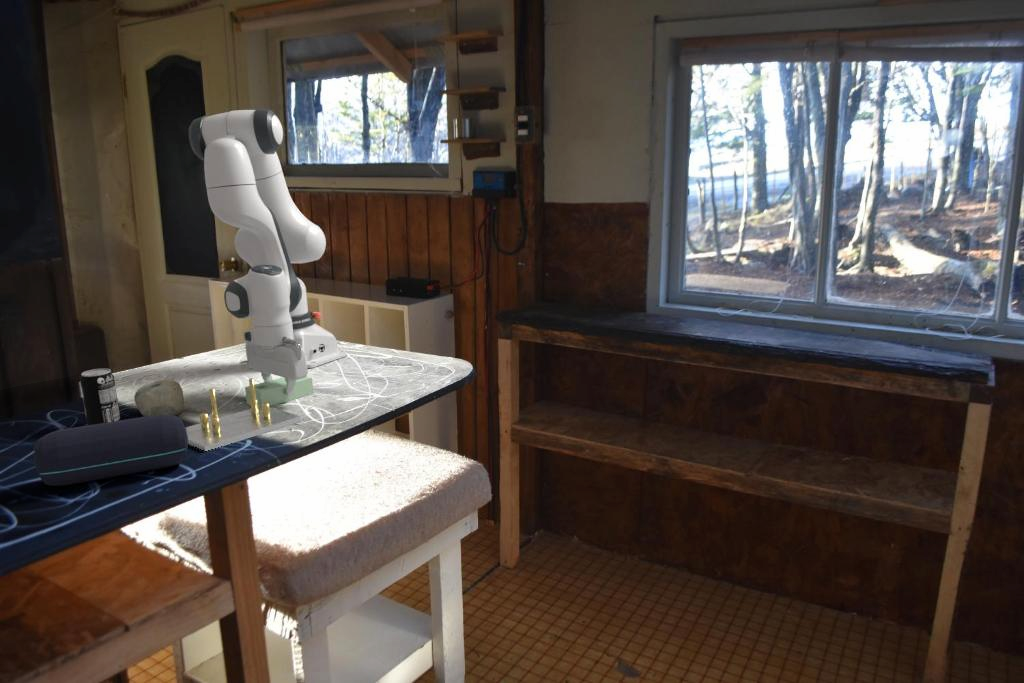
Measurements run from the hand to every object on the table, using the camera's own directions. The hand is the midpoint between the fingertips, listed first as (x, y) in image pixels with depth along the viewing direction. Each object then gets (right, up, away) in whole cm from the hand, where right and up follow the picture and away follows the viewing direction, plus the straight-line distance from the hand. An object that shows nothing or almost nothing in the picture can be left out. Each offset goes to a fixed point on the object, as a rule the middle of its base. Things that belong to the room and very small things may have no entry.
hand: (279, 391), depth 189 cm
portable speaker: (-18, -13, -42) cm, 47 cm away
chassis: (-3, -7, -20) cm, 21 cm away
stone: (-24, -5, -8) cm, 26 cm away
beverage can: (-35, -7, -14) cm, 38 cm away
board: (0, -2, 0) cm, 2 cm away
